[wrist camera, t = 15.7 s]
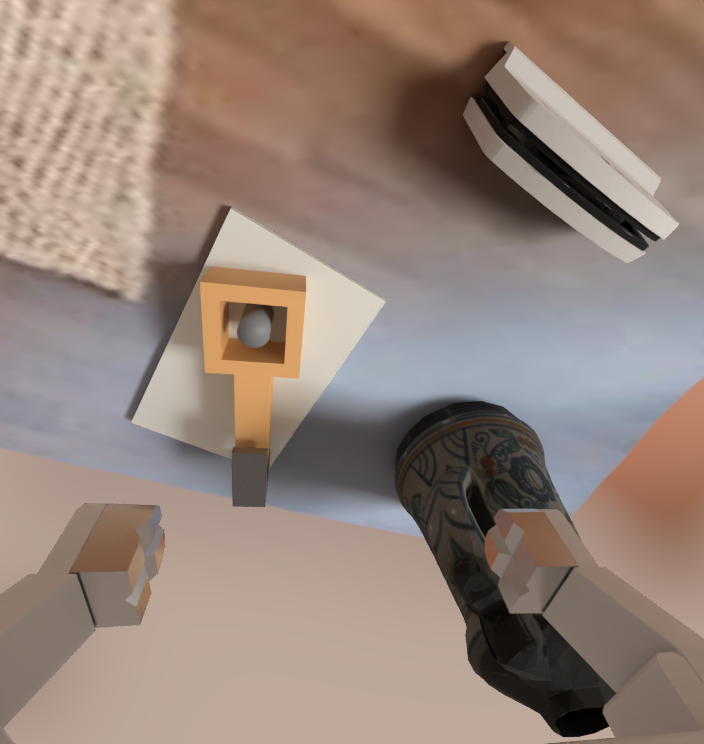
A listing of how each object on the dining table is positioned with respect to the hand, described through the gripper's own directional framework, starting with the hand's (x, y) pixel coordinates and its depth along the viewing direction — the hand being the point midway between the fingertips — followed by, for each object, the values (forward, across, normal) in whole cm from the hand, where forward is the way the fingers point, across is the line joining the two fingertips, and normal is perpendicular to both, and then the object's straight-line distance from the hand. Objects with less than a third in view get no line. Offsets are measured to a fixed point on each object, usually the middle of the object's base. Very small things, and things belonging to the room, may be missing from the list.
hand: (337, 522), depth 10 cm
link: (+26, +4, +11) cm, 29 cm away
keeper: (+27, +4, +20) cm, 34 cm away
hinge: (+28, -18, -9) cm, 34 cm away
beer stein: (+27, -18, +21) cm, 39 cm away
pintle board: (+27, +5, +11) cm, 30 cm away
